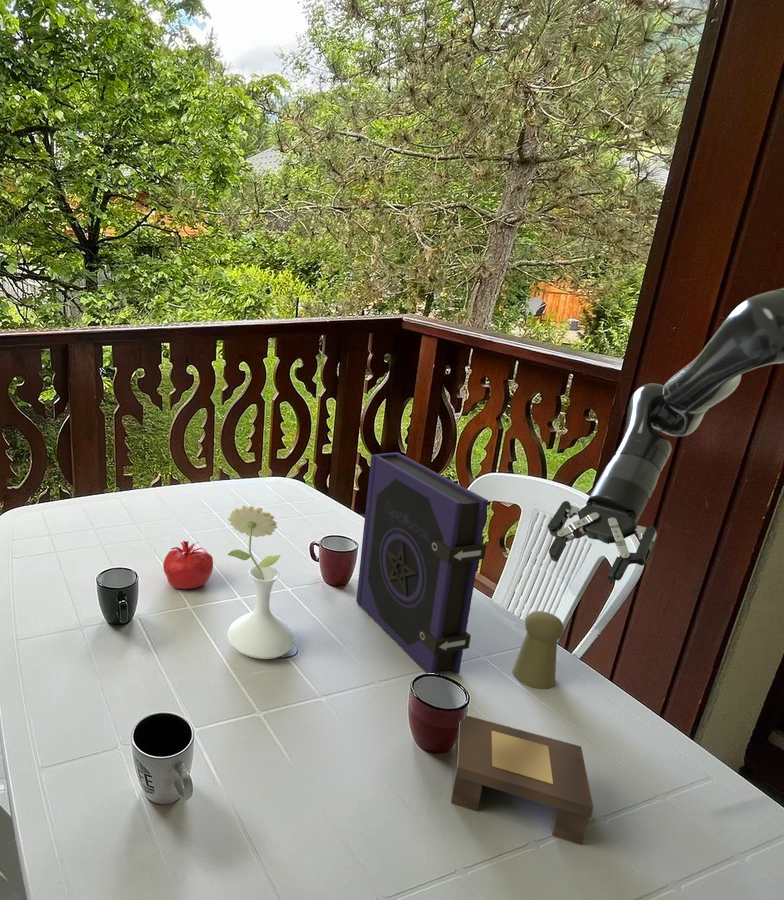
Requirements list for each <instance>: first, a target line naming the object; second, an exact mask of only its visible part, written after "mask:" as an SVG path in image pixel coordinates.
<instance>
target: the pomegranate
mask: <svg viewBox="0 0 784 900" xmlns="http://www.w3.org/2000/svg"><path fill="white" fill-rule="evenodd" d="M189 543H190V541H189V540H187V539H183V540H182V541H180V545H181V547H179V546H175V547H170V549H171V550H170V551H169V552H168V553H167V554H166V556H165V558H164V560H163V565H162V567H163V572H164V574H165V576H166V579H167V583H169V585H170V586H171V587H173V588H175V589H179V590H181V589H182V590H189V589H190V590H191V589H197V588H200V587H203V586H205V585H206V583H208V581H209V579H210V578H211V576H212V573H213V570H214V569H213V568H214V559H213V556H212V555H211V554H210V553H209V552H208V551H207V550H206V549H205V548H203V547H195V546H196V545H197V544H200V542H199V541H198V542H194V543H192V544H191V545H190V546H189Z"/></svg>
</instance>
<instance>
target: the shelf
mask: <svg viewBox="0 0 784 900" xmlns="http://www.w3.org/2000/svg"><path fill="white" fill-rule="evenodd" d="M465 715H466V717H465V719H462V720H460V722H459V721H458V723H459V727H458V726H457V730H458V732H457V731H456V736H457V738H456V737H455V741H454V742H455V743H454V749H453V757H452V758H453V759H452V774H451V776H452V777H451V794H450V803H451V804H453V805H456V806H460V807H464V808H466V809H470V810H473V811H475V812H478V809H479V804H480V799H481V795H482V790H483V786H485V787H487V788H491V789H494V790H497V791H500V792H504V793H506V794H511V795H514V796H518V797H520V798H522V799H523V798H524V799H526V800H527V799H528V800H530V801H533V802H537V803H540V804H543V805H547V806H548V810H549V818H550V826H551V834H552V836H553V837H556V838H559V839H562V840H565V841H569V842H572V843H575V844H577V845H581V846H582V845H583V843H584V838H585V834H586V830H587V827H588V824H589V819H591V818H592V814H593V812H594V805H593V799H592V794H591V789H590V783H589V779H588V775H587V769H586V765H585V764H586V763H585V758H584V753H583V748H582V746H581V745H577V744H573V743H569V742H567V741H563V740H559V739H555V738H551V737H547V736H544V735H541V734H537V733H533V732H530V731H525V730H522V729H518V728H515V727H510V726H507V725H504V724H500V723H496V722H492V721H488V720H484V719H481V718H478V717H474V716H470V715H467V714H465Z"/></svg>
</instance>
